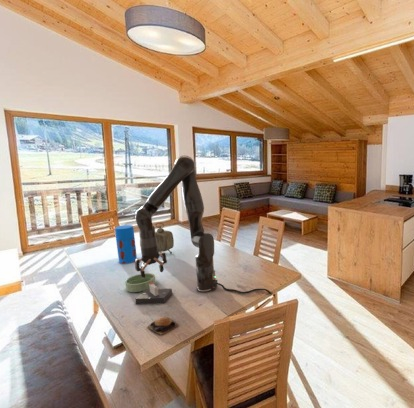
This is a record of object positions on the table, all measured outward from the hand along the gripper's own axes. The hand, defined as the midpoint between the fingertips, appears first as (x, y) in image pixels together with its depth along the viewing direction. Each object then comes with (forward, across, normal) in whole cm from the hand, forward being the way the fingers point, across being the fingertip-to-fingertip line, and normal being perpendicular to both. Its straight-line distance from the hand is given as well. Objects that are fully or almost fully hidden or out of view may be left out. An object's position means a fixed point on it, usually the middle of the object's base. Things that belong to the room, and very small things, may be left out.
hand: (152, 274), depth 144 cm
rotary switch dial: (+14, -1, 0) cm, 14 cm away
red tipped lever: (+10, -1, 0) cm, 10 cm away
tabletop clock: (+14, +27, +64) cm, 71 cm away
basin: (+14, -1, +19) cm, 24 cm away
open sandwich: (+13, -7, -29) cm, 33 cm away
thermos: (+14, +6, +70) cm, 71 cm away
